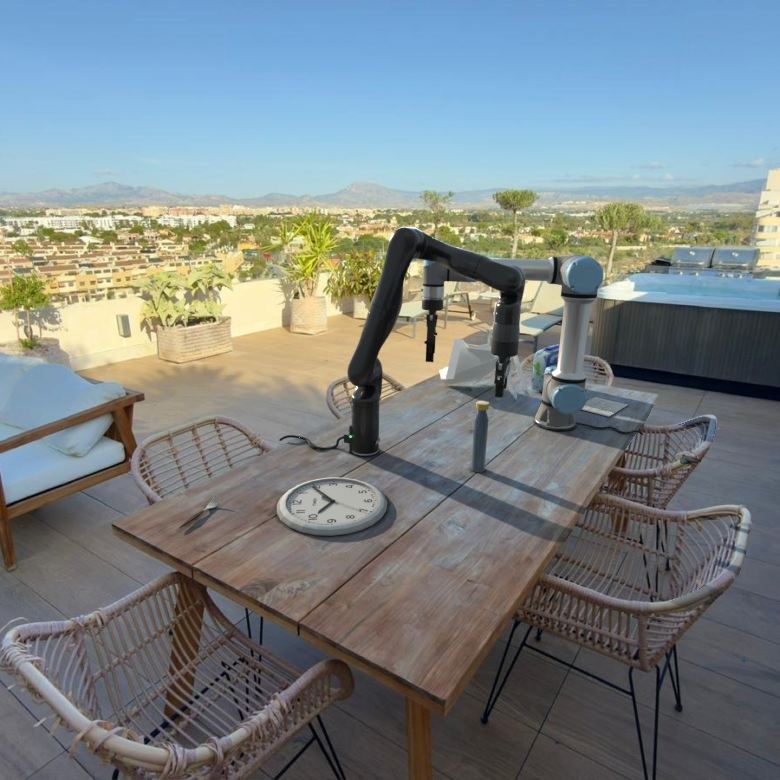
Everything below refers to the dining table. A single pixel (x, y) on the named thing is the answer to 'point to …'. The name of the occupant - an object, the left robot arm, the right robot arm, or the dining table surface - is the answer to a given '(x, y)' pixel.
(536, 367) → the lunch box
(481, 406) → the cap
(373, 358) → the left robot arm
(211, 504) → the fork
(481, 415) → the bottle
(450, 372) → the white plastic object
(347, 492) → the wall clock
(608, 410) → the invitation card
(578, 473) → the dining table surface
